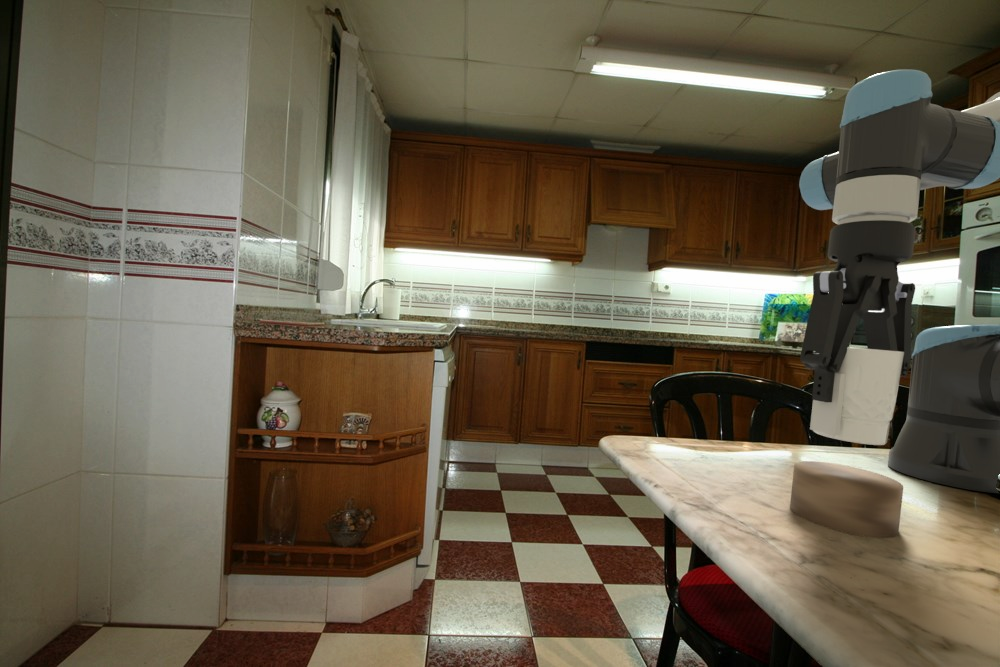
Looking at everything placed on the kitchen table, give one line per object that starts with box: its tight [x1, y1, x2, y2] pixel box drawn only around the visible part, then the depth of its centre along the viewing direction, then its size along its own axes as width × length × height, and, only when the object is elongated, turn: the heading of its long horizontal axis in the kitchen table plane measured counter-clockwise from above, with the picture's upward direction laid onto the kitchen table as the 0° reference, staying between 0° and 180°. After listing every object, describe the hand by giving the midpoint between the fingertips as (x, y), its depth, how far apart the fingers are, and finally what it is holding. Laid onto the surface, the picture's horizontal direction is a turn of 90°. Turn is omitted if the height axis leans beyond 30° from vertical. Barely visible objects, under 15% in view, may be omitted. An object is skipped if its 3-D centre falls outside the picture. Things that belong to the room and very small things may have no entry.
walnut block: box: [789, 460, 904, 539], centre depth 56 cm, size 10×10×5 cm
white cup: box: [812, 346, 904, 446], centre depth 56 cm, size 8×8×10 cm
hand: (849, 431), depth 56 cm, fingers closed on white cup, 8 cm apart
